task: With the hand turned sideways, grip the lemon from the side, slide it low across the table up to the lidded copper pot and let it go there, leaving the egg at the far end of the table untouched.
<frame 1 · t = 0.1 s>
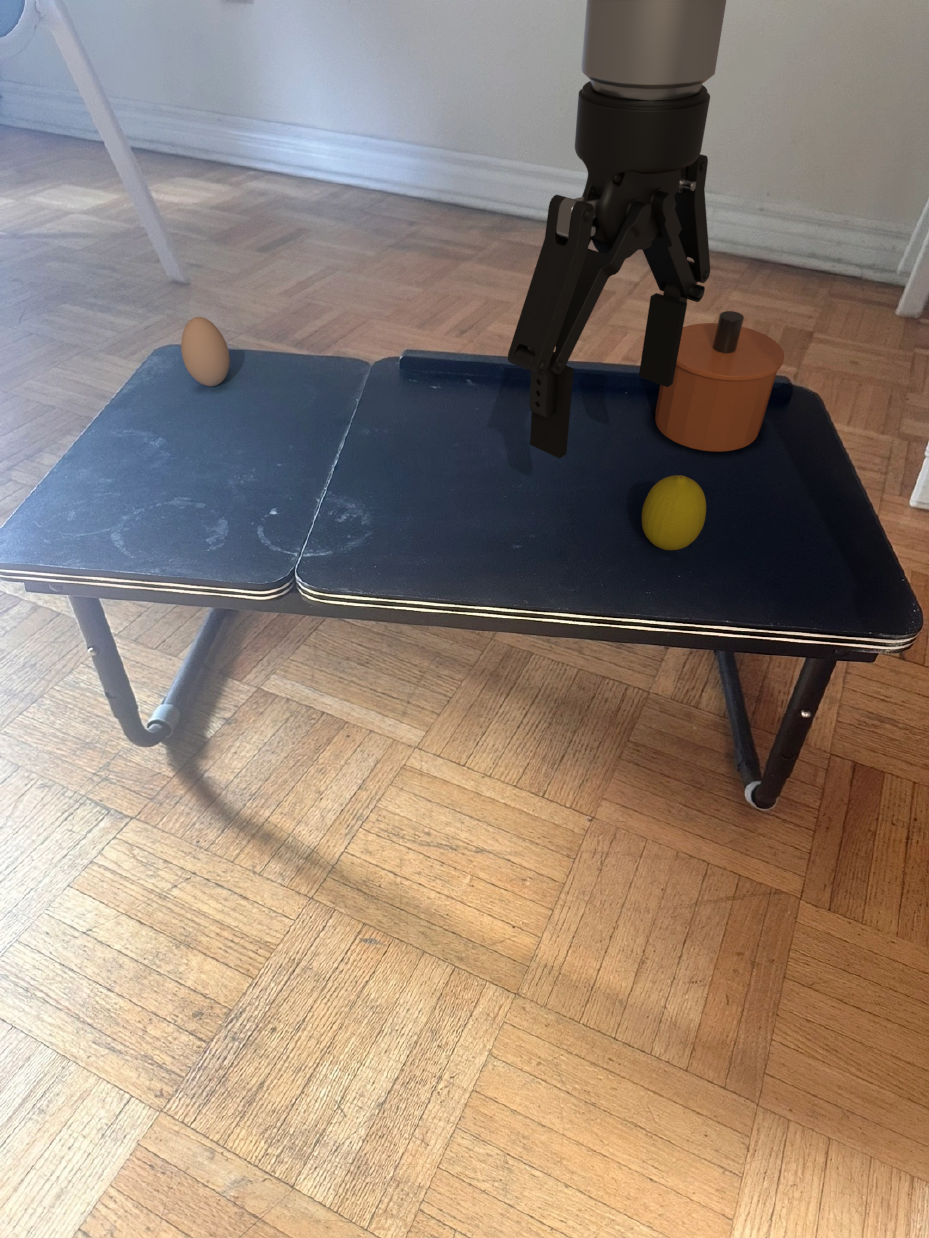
hand: (604, 413, 62), 17 cm above the table, tool pointing down, fingers open, 13 cm apart
lemon: (665, 550, 76), on the table
pot lid: (723, 352, 86), point 8 cm above the table, touching pot
egg: (213, 386, 99), on the table
pot: (706, 424, 92), on the table
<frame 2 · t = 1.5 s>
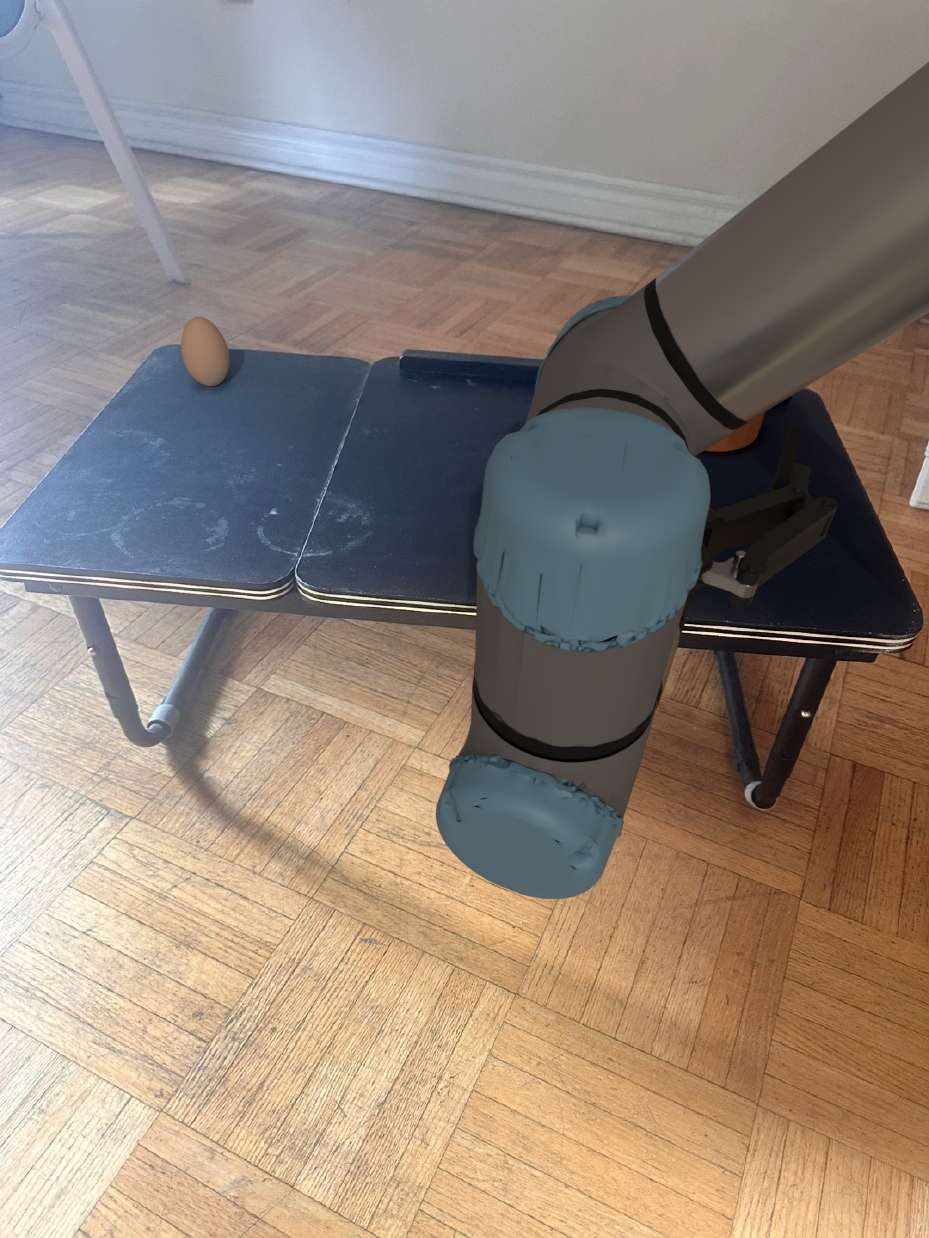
hand: (690, 422, 57), 18 cm above the table, tool horizontal, fingers open, 13 cm apart
nothing on the table moved.
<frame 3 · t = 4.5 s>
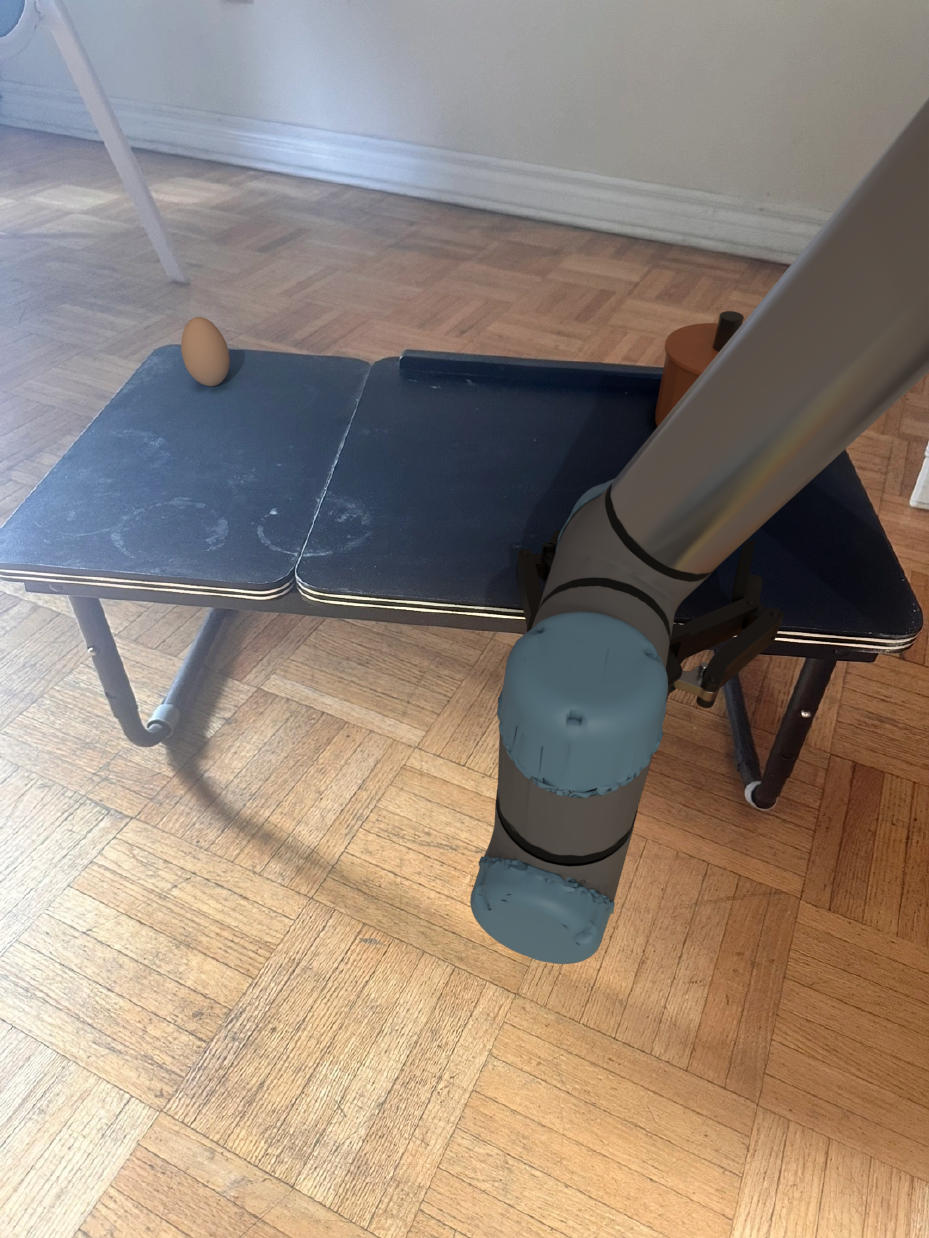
hand: (662, 534, 68), 6 cm above the table, tool horizontal, fingers open, 13 cm apart
nothing on the table moved.
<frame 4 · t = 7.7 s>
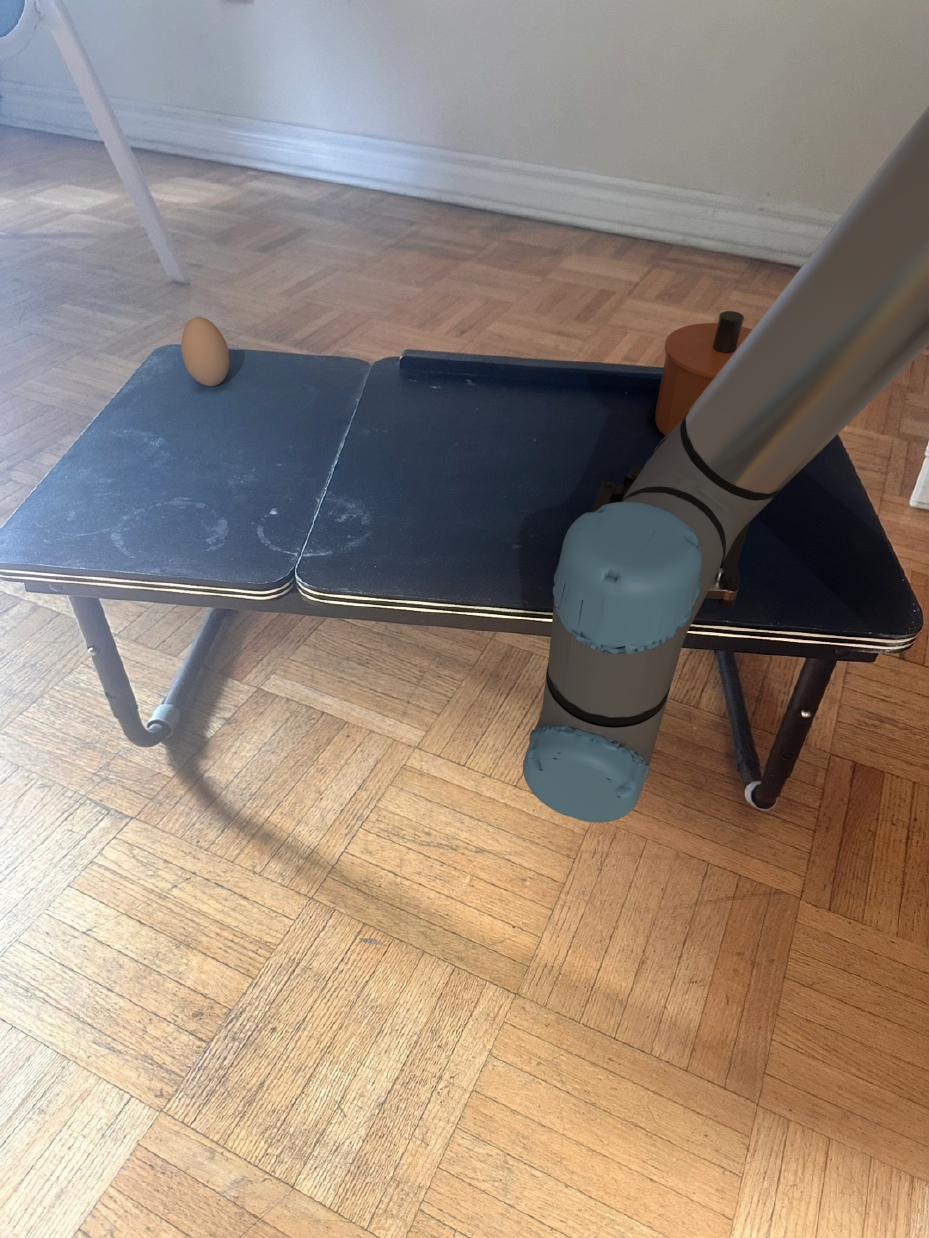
hand: (688, 463, 75), 6 cm above the table, tool horizontal, fingers closed on lemon, 5 cm apart
lemon: (665, 550, 76), on the table, touching gripper
everything else where it was.
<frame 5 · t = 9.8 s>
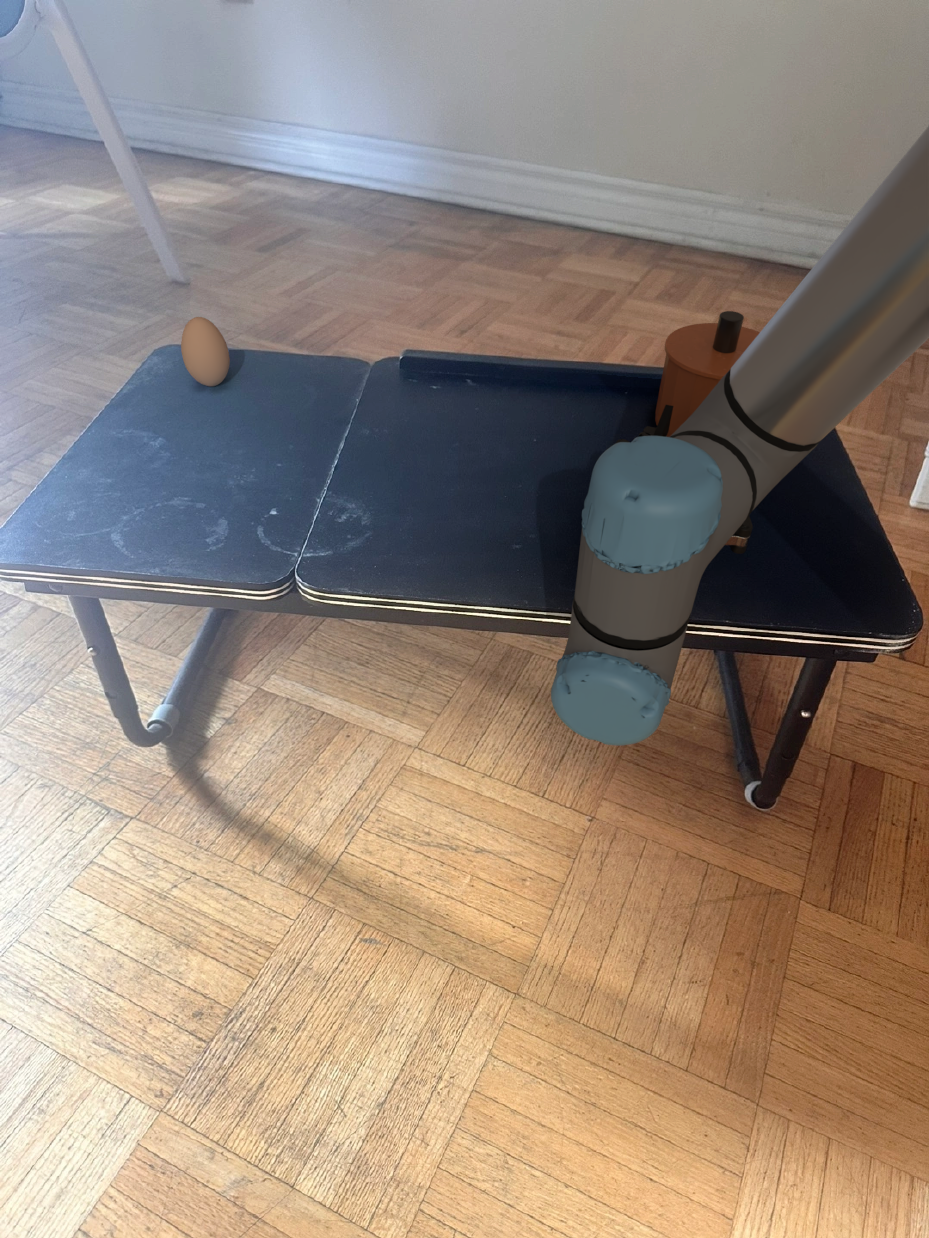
hand: (698, 424, 79), 7 cm above the table, tool horizontal, fingers closed on lemon, 5 cm apart
lemon: (677, 508, 80), point 1 cm above the table, touching gripper
everything else where it was.
when the fingers open (6 cm above the table, at t = 12.1 s): lemon stays where it is, on the table.
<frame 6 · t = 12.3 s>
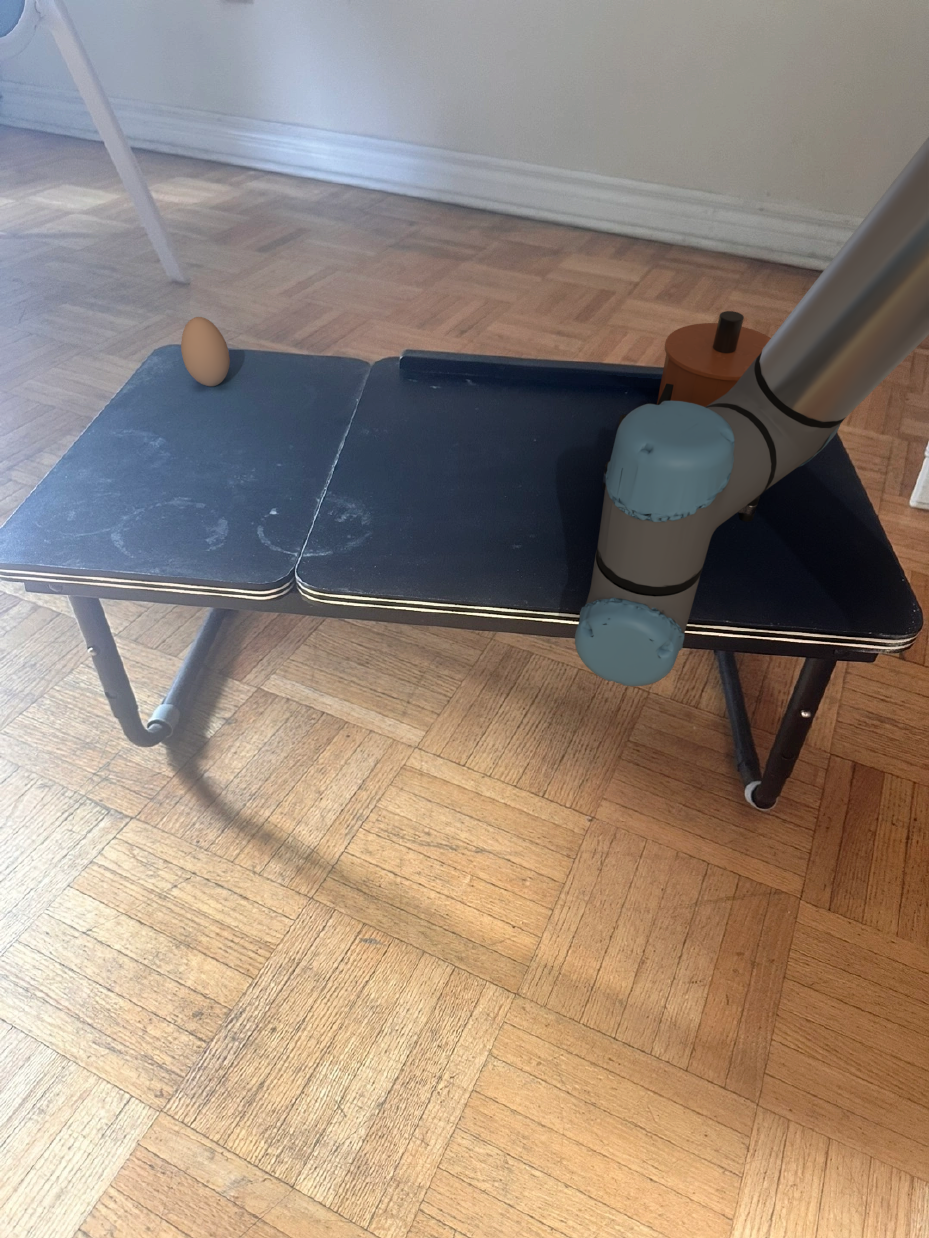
hand: (708, 403, 84), 6 cm above the table, tool horizontal, fingers open, 8 cm apart
lemon: (688, 479, 85), on the table
everything else where it was.
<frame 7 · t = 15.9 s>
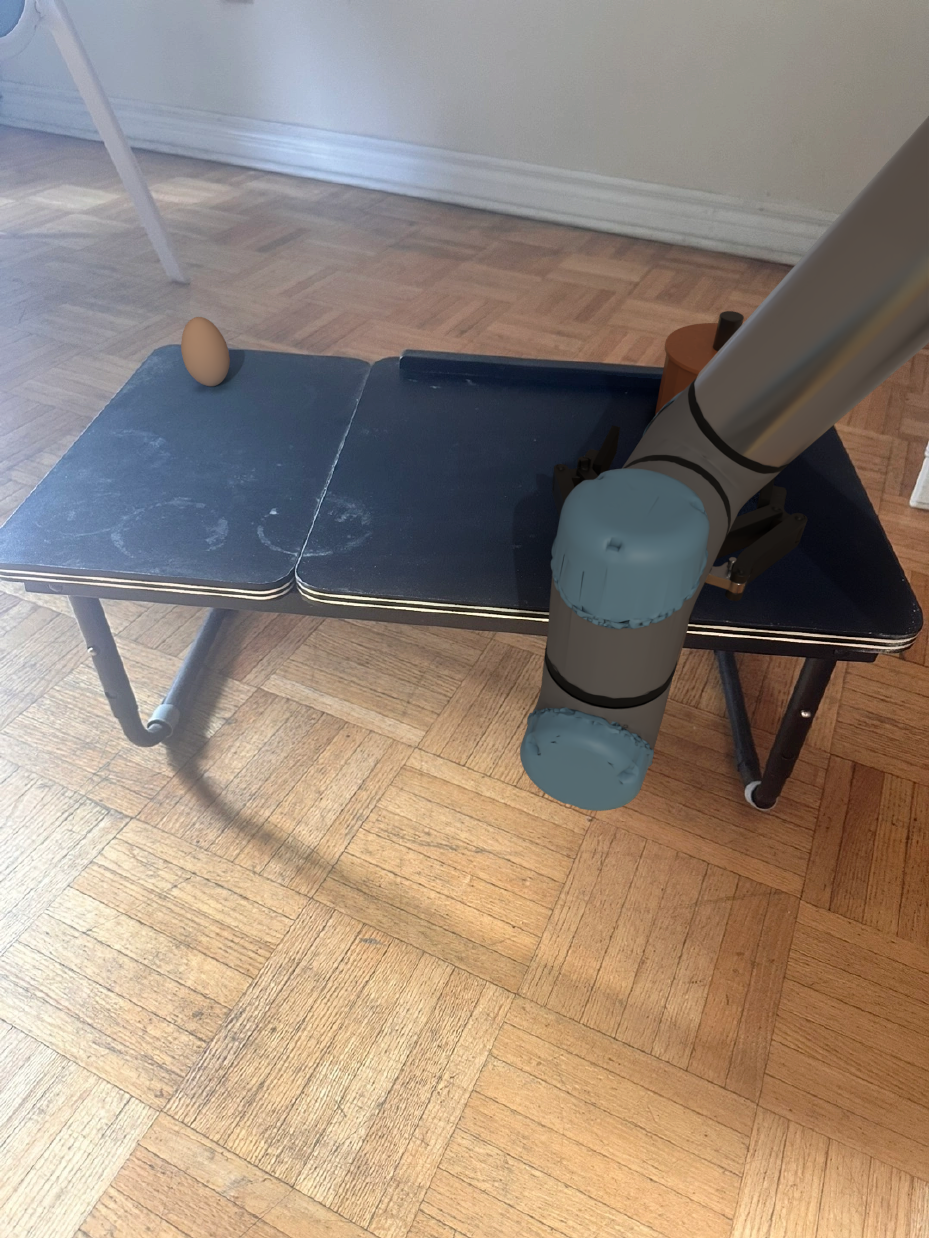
hand: (690, 454, 72), 9 cm above the table, tool horizontal, fingers open, 13 cm apart
nothing on the table moved.
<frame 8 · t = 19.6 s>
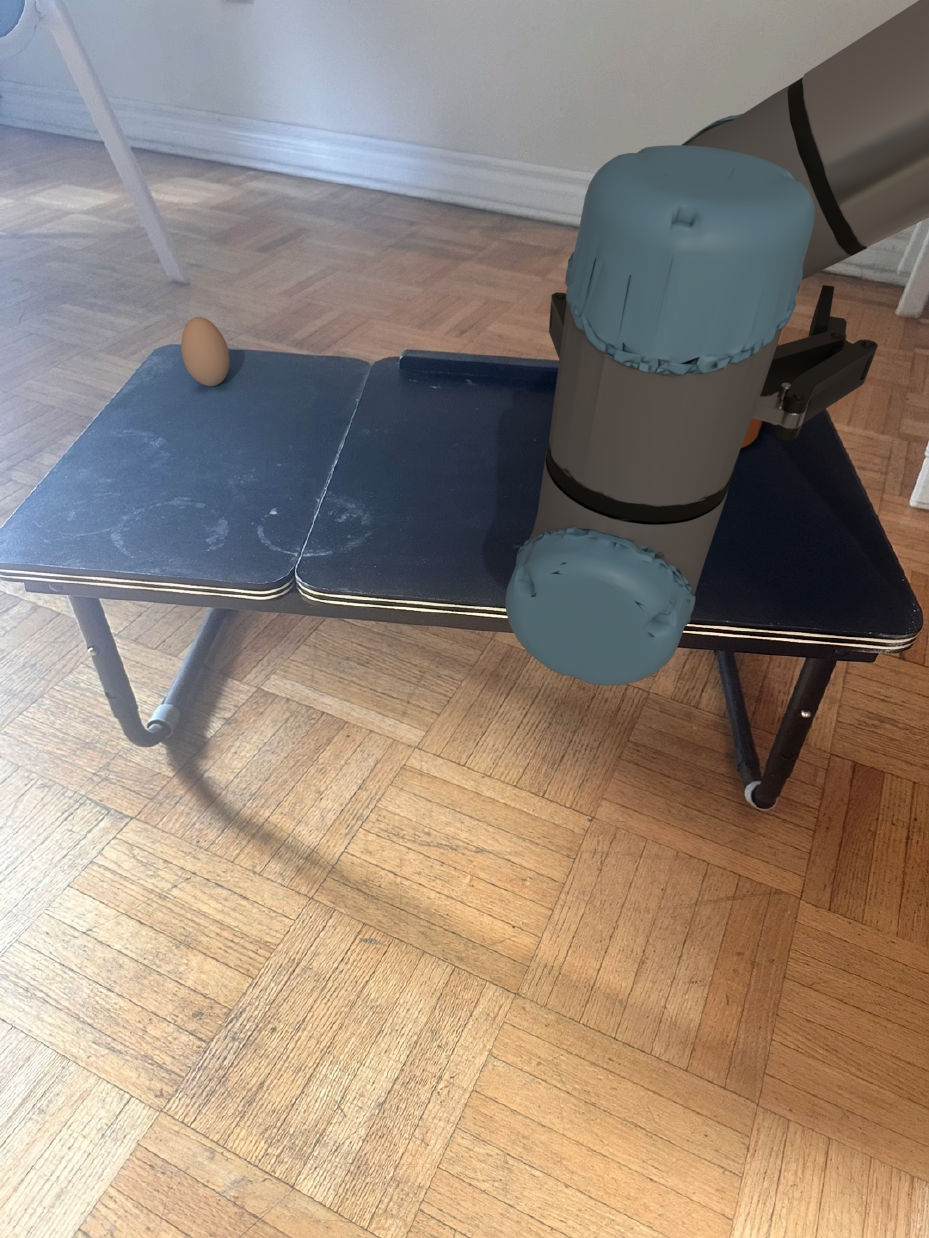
hand: (721, 290, 57), 25 cm above the table, tool horizontal, fingers open, 13 cm apart
nothing on the table moved.
at the end: lemon 11.4 cm from the pot (horizontally); lemon moved 12.4 cm from its start; egg moved 0.2 cm from its start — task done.
